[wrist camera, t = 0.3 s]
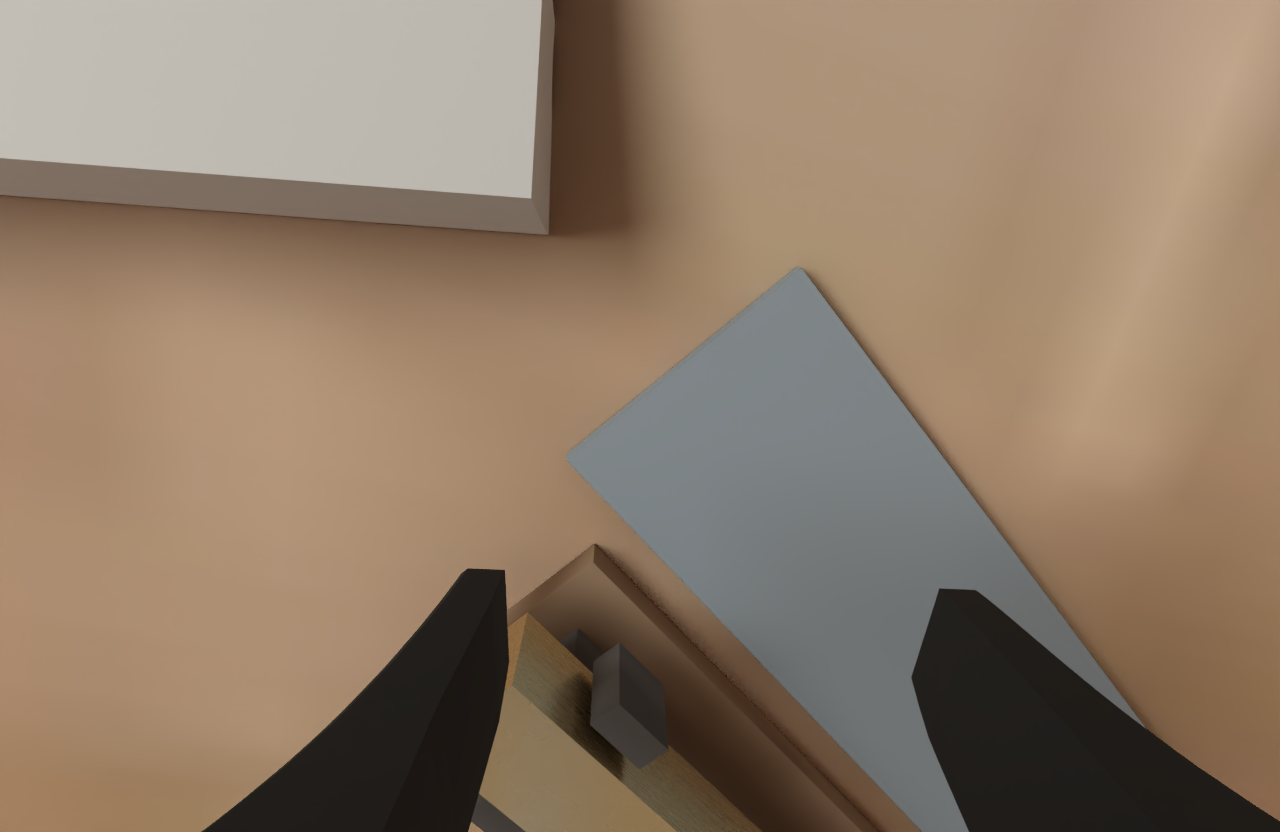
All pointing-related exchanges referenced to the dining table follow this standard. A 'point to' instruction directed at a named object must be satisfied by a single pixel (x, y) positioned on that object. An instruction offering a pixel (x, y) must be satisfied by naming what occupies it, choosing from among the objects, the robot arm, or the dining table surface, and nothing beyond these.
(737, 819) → the rail
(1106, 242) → the dining table surface
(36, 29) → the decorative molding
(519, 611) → the rail stand
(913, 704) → the mat
